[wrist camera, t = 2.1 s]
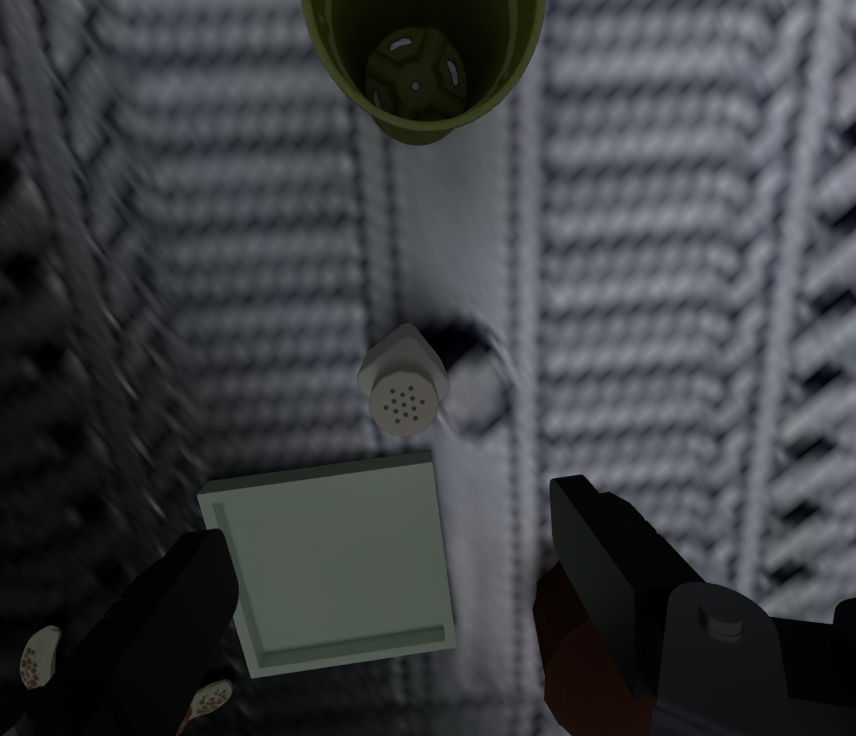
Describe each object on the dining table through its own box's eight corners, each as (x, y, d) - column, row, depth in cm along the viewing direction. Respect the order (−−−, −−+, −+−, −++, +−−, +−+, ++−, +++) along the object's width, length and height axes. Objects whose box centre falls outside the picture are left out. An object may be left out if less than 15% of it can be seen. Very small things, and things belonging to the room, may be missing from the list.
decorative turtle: (-30, 666, 32) (-106, 737, 27) (137, 564, 31) (87, 620, 26) (130, 796, 36) (89, 878, 32) (282, 712, 35) (263, 783, 30)
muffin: (557, 517, 32) (626, 628, 22) (676, 558, 33) (789, 679, 23) (494, 634, 34) (530, 782, 24) (607, 668, 36) (684, 818, 26)
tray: (430, 450, 29) (432, 462, 28) (453, 627, 33) (456, 647, 32) (209, 481, 29) (196, 495, 27) (259, 656, 33) (251, 678, 31)
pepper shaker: (444, 363, 28) (465, 411, 19) (399, 398, 28) (397, 461, 19) (408, 317, 27) (411, 344, 18) (362, 354, 27) (341, 398, 18)
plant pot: (461, -37, 22) (495, -218, 14) (518, 137, 25) (577, 71, 16) (308, 35, 23) (252, -98, 14) (378, 200, 25) (366, 168, 17)
